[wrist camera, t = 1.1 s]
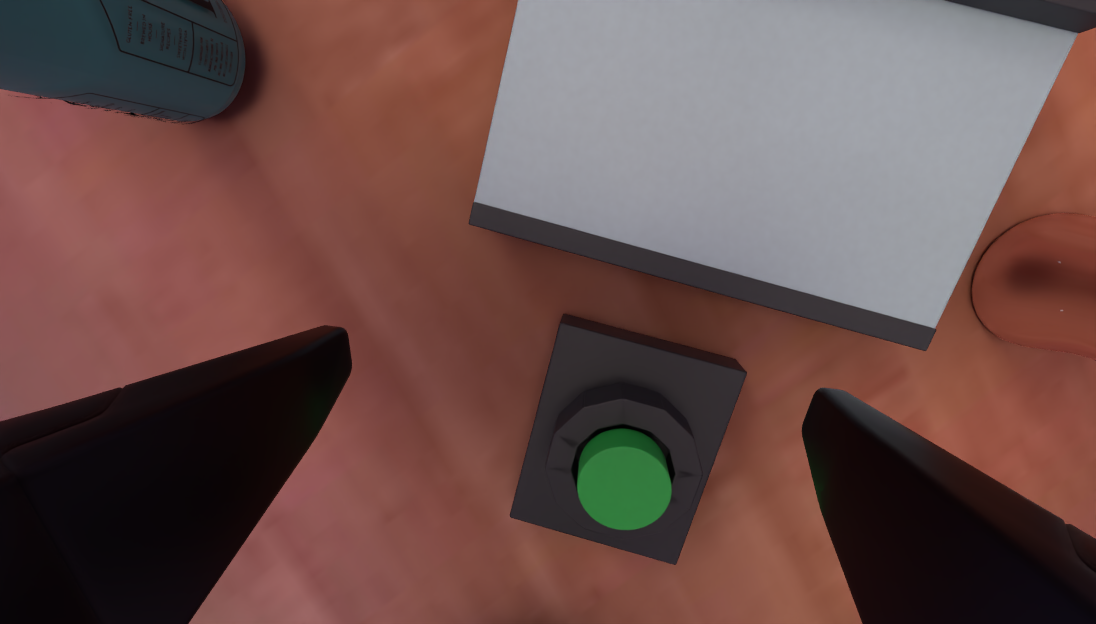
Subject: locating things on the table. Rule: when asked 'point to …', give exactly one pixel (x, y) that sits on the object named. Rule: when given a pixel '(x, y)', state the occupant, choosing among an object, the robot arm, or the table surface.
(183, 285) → the table surface
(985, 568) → the robot arm
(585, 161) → the shelf
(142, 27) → the beverage bottle
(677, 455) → the control box
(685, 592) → the table surface
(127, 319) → the table surface
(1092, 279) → the beer glass
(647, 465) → the button
